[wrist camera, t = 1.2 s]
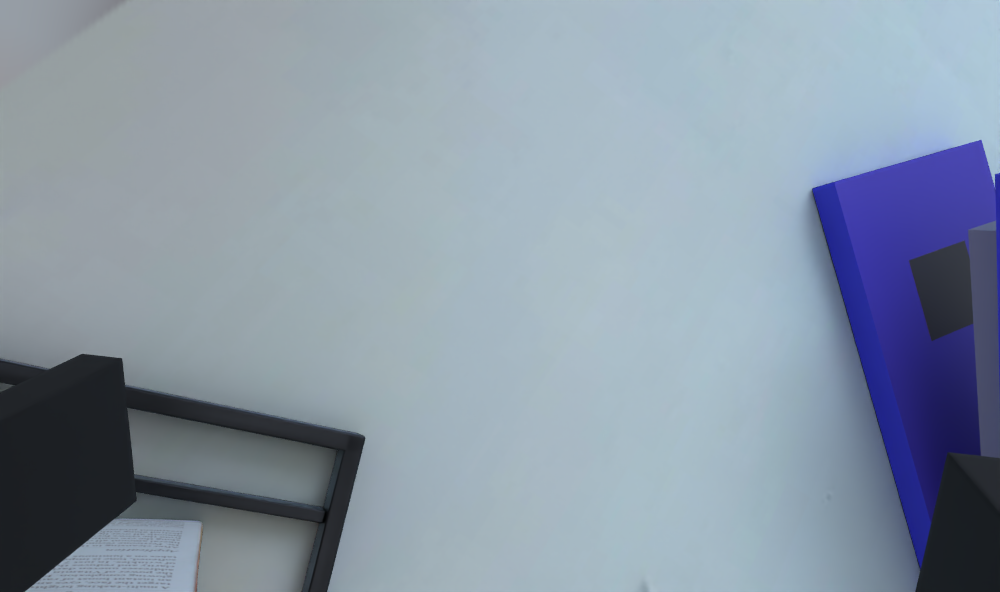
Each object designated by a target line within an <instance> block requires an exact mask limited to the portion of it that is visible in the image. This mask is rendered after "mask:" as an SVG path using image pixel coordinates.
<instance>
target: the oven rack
mask: <svg viewBox="0 0 1000 592" xmlns="http://www.w3.org/2000/svg"><path fill="white" fill-rule="evenodd" d="M47 370H49V369H48V368H43V367H39V366H34V365H29V364H24V363H19V362H15V361H10V360H5V359H0V382H1V383H6V384H11V385H17V384H19V383H22V382H24V381H26V380H28V379H30V378H32V377H34V376H36V375H39V374H41V373H43V372H45V371H47ZM125 391H126V401H127V408H131V409H136V410H141V411H146V412H151V413H156V414H161V415H166V416H171V417H176V418H181V419H186V420H191V421H196V422H201V423H206V424H211V425H216V426H221V427H226V428H231V429H236V430H241V431H246V432H251V433H256V434H261V435H266V436H271V437H276V438H281V439H286V440H292V441H297V442H302V443H307V444H312V445H317V446H322V447H327V448H332V449H337V450H338V452H337V456H336V460H335V463H334V467H333V471H332V475H331V479H330V483H329V487H328V491H327V495H326V499H325V503H324V507H320V506H314V505H308V504H303V503H297V502H291V501H285V500H279V499H274V498H268V497H262V496H256V495H251V494H245V493H239V492H233V491H228V490H222V489H216V488H210V487H204V486H199V485H193V484H187V483H181V482H176V481H170V480H164V479H158V478H152V477H147V476H141V475H135V474H134V478H135V488H136V492H138V493H144V494H150V495H156V496H162V497H168V498H174V499H180V500H186V501H192V502H198V503H204V504H210V505H216V506H222V507H228V508H234V509H240V510H246V511H252V512H258V513H264V514H270V515H276V516H282V517H288V518H294V519H300V520H306V521H312V522H318V523H319V526H318V530H317V534H316V538H315V542H314V546H313V550H312V554H311V558H310V562H309V566H308V570H307V574H306V577H305V581H304V585H303V589H302V592H327V590H328V586H329V582H330V578H331V574H332V570H333V566H334V562H335V558H336V554H337V550H338V546H339V542H340V538H341V534H342V530H343V526H344V522H345V518H346V514H347V510H348V506H349V502H350V498H351V494H352V490H353V486H354V482H355V478H356V474H357V470H358V466H359V462H360V458H361V454H362V449H363V445H364V441H365V437H364V436H363V435H361V434H358V433H354V432H350V431H345V430H340V429H335V428H330V427H326V426H321V425H316V424H311V423H306V422H302V421H297V420H292V419H287V418H283V417H278V416H273V415H268V414H263V413H259V412H254V411H249V410H244V409H239V408H235V407H230V406H225V405H220V404H216V403H211V402H206V401H201V400H196V399H192V398H187V397H182V396H177V395H173V394H168V393H163V392H158V391H153V390H149V389H144V388H139V387H134V386H129V385H125Z"/></svg>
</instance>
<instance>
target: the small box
mask: <svg viewBox="0 0 1000 592" xmlns="http://www.w3.org/2000/svg"><path fill="white" fill-rule="evenodd" d="M202 533H203V524H202V522H201V521H196V520H168V519H123V518H115V519H114V520H112V521H111V522H110V523H109V524H108V525H106V526H105V527H104V528H103V529H101V530H100V531H99V532H98V533H96V534H95V535H94V536H93V537H92V538H90V539H89V540H88V541H87V542H85V543H84V544H83V545H82V546H81V547H79V548H78V549H77V550H76V551H74V552H73V553H72V554H71V555H69V556H68V557H67V558H66V559H65V560H63V561H62V562H61V563H60V564H58V565H57V566H56V567H55V568H54V569H52V570H51V571H50V572H49V573H47V574H46V575H45V576H44V577H42V578H41V579H40V580H39V581H38V582H36V583H35V584H34V585H33V586H31V587H30V588H29V589H28V590H26V591H25V592H197V578H198V567H199V558H200V548H201V540H202Z"/></svg>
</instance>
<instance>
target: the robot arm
mask: <svg viewBox="0 0 1000 592" xmlns="http://www.w3.org/2000/svg"><path fill="white" fill-rule="evenodd" d="M136 501H137V498H136V488H135V478H134V469H133V459H132V449H131V440H130V430H129V420H128V411H127V401H126V391H125V382H124V372H123V362H122V358H114V357H105V356H96V355H87V354H81V355H79V356H77V357H75V358H73V359H70V360H68V361H66V362H64V363H62V364H60V365H58V366H56V367H53V368H51V369H49V370H47V371H45V372H43V373H41V374H39V375H36V376H34V377H32V378H30V379H28V380H26V381H24V382H22V383H19V384H17V385H15V386H13V387H11V388H9V389H7V390H5V391H2V392H0V592H25V591H26V590H28V589H29V588H30V587H31V586H33V585H34V584H35V583H36V582H38V581H39V580H40V579H41V578H42V577H44V576H45V575H46V574H47V573H49V572H50V571H51V570H52V569H54V568H55V567H56V566H57V565H58V564H60V563H61V562H62V561H63V560H65V559H66V558H67V557H68V556H69V555H71V554H72V553H73V552H74V551H76V550H77V549H78V548H79V547H81V546H82V545H83V544H84V543H85V542H87V541H88V540H89V539H90V538H92V537H93V536H94V535H95V534H96V533H98V532H99V531H100V530H101V529H103V528H104V527H105V526H106V525H108V524H109V523H110V522H111V521H112V520H114V519H115V518H116V517H117V516H119V515H120V514H121V513H122V512H124V511H125V510H126V509H127V508H128V507H130V506H131V505H132V504H133V503H135V502H136ZM916 592H1000V458H996V457H987V456H978V455H969V454H960V453H952V452H947V457H946V461H945V465H944V470H943V474H942V478H941V483H940V487H939V491H938V496H937V500H936V505H935V509H934V513H933V518H932V522H931V526H930V531H929V535H928V539H927V544H926V548H925V552H924V557H923V561H922V565H921V570H920V574H919V578H918V583H917V587H916Z"/></svg>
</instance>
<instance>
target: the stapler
mask: <svg viewBox="0 0 1000 592" xmlns="http://www.w3.org/2000/svg"><path fill="white" fill-rule="evenodd" d="M812 190H813V193H814V197H815V200H816V204H817V207H818V211H819V214H820V218H821V222H822V225H823V229H824V232H825V236H826V239H827V243H828V246H829V250H830V253H831V257H832V260H833V264H834V267H835V271H836V274H837V278H838V281H839V285H840V288H841V292H842V295H843V299H844V302H845V306H846V309H847V313H848V316H849V320H850V323H851V327H852V331H853V334H854V338H855V341H856V345H857V348H858V352H859V355H860V359H861V362H862V366H863V369H864V373H865V376H866V380H867V383H868V387H869V390H870V394H871V397H872V401H873V404H874V408H875V411H876V415H877V418H878V422H879V425H880V429H881V433H882V436H883V440H884V443H885V447H886V450H887V454H888V457H889V461H890V464H891V468H892V471H893V475H894V478H895V482H896V485H897V489H898V492H899V496H900V499H901V503H902V506H903V510H904V513H905V517H906V520H907V524H908V527H909V531H910V534H911V538H912V542H913V545H914V549H915V552H916V556H917V559H918V563H919V566H920V570H921V565H922V561H923V557H924V552H925V548H926V544H927V539H928V535H929V531H930V526H931V522H932V518H933V513H934V509H935V505H936V500H937V496H938V491H939V487H940V483H941V478H942V474H943V470H944V465H945V461H946V457H947V452H952V453H960V454H969V455H978V456H987V457H996V458H1000V173H998V174H995V187H994V183H993V180H992V176H991V173H990V169H989V166H988V162H987V159H986V155H985V151H984V148H983V144H982V141H981V140H979V141H976V142H972V143H969V144H965V145H962V146H958V147H955V148H951V149H948V150H944V151H941V152H937V153H934V154H930V155H927V156H923V157H920V158H916V159H913V160H909V161H906V162H902V163H899V164H895V165H892V166H888V167H885V168H881V169H878V170H874V171H871V172H867V173H864V174H860V175H857V176H853V177H850V178H846V179H843V180H839V181H836V182H832V183H829V184H826V185H822V186H819V187H816V188H813V189H812Z"/></svg>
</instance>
